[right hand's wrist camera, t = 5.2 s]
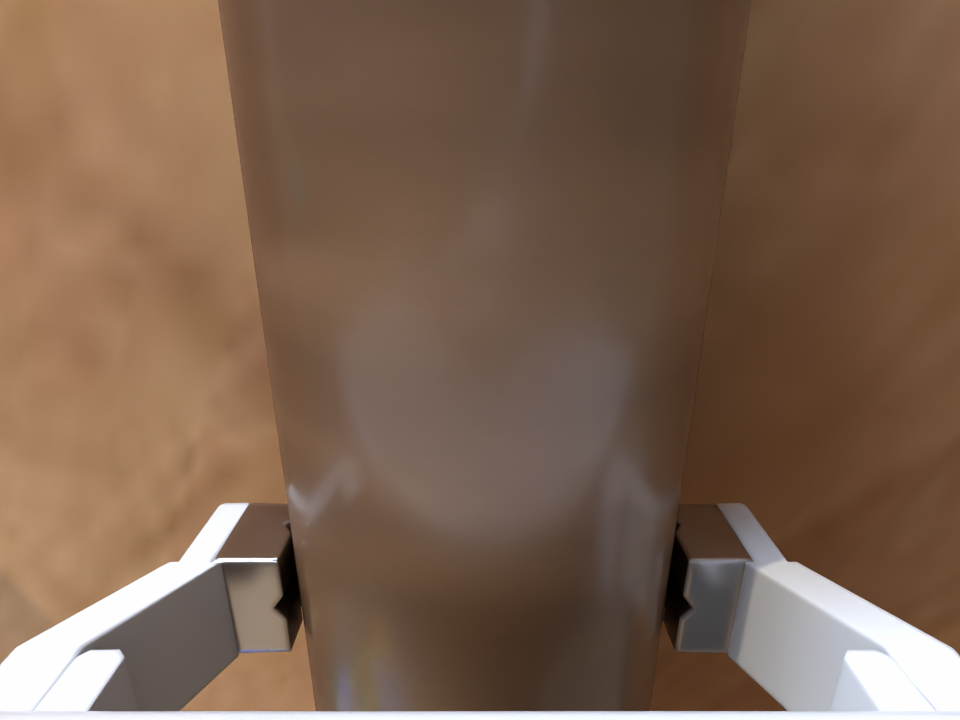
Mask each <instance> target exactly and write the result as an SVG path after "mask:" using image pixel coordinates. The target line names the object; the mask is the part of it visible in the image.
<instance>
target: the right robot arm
mask: <svg viewBox="0 0 960 720" xmlns="http://www.w3.org/2000/svg"><path fill="white" fill-rule="evenodd" d="M301 606H302V605H301V597H300V590H299V583H298V576H297V568H296V561H295V554H294V547H293V539H292V532H291V525H290V518H289V510H288V504H273V503H253V504H251V503H225V504H222V505H220V506H219V507H218V508H217V509H216V511H215V512H214V513H213V515H212V516H211V518H210V519H209V520H208V522H207V523H206V525H205V526H204V527H203V529H202V530H201V532H200V533H199V534H198V536H197V537H196V539H195V540H194V541H193V543H192V544H191V545H190V547H189V548H188V550H187V551H186V552H185V554H184V555H183V557H182V558H181V559H180V561H179V562H169V563H167V564H165V565H163V566H162V567H160V568H158V569H156V570H154V571H153V572H151V573H149V574H147V575H145V576H144V577H142V578H140V579H138V580H136V581H135V582H133V583H131V584H129V585H127V586H126V587H124V588H122V589H120V590H118V591H117V592H115V593H113V594H111V595H109V596H108V597H106V598H104V599H102V600H100V601H99V602H97V603H95V604H93V605H91V606H90V607H88V608H86V609H84V610H82V611H81V612H79V613H77V614H75V615H73V616H72V617H70V618H68V619H66V620H64V621H63V622H61V623H59V624H57V625H55V626H54V627H52V628H50V629H48V630H46V631H45V632H43V633H41V634H39V635H37V636H36V637H34V638H32V639H30V640H28V641H27V642H25V643H23V644H21V645H19V646H18V647H16V648H15V649H14V650H13V652H12V653H11V654H10V655H9V656H8V657H7V658H6V659H5V660H4V661H3V662H2V664H1V665H0V720H960V655H959V654H958V653H957V652H956V651H955V650H954V649H953V648H952V647H950V646H948V645H946V644H944V643H943V642H941V641H939V640H937V639H935V638H934V637H932V636H930V635H928V634H926V633H925V632H923V631H921V630H919V629H917V628H915V627H914V626H912V625H910V624H908V623H906V622H905V621H903V620H901V619H899V618H897V617H896V616H894V615H892V614H890V613H888V612H886V611H885V610H883V609H881V608H879V607H877V606H876V605H874V604H872V603H870V602H868V601H867V600H865V599H863V598H861V597H859V596H857V595H856V594H854V593H852V592H850V591H848V590H847V589H845V588H843V587H841V586H839V585H838V584H836V583H834V582H832V581H830V580H828V579H827V578H825V577H823V576H821V575H819V574H818V573H816V572H814V571H812V570H810V569H809V568H807V567H805V566H803V565H801V564H799V563H798V562H787V560H786V559H785V557H784V556H783V555H782V553H781V552H780V551H779V549H778V548H777V547H776V545H775V544H774V543H773V541H772V540H771V539H770V537H769V536H768V534H767V533H766V532H765V530H764V529H763V528H762V526H761V525H760V524H759V522H758V521H757V520H756V518H755V517H754V516H753V514H752V513H751V512H750V510H749V509H748V507H747V506H746V505H744V504H742V503H713V504H687V505H679V509H678V516H677V523H676V530H675V537H674V544H673V551H672V557H671V564H670V571H669V578H668V585H667V592H666V599H665V606H664V607H665V609H664V617H663V621H664V623H665V626H666V628H667V631H668V634H669V636H670V639H671V641H672V644H673V646H674V649H675V651H682V652H717V653H728V654H727V655H728V656H729V657H730V658H731V659H732V660H733V661H734V662H735V663H736V664H737V665H738V666H739V667H741V668H742V669H743V670H744V671H745V672H746V673H747V674H748V675H749V676H750V677H751V678H752V679H754V680H755V681H756V682H757V683H758V684H759V685H760V686H761V687H762V688H763V689H764V690H765V691H766V692H768V693H769V694H770V695H771V696H772V697H773V698H774V699H775V700H776V701H777V702H778V703H779V704H781V705H782V706H783V707H784V708H785V709H786V710H787V711H180V710H181V709H182V708H183V707H184V706H185V705H186V704H187V703H188V702H189V701H191V700H192V699H193V698H194V697H195V696H196V695H197V694H198V693H199V692H200V691H201V690H202V689H203V688H204V687H206V686H207V685H208V684H209V683H210V682H211V681H212V680H213V679H214V678H215V677H216V676H217V675H218V674H220V673H221V672H222V671H223V670H224V669H225V668H226V667H227V666H228V665H229V664H230V663H231V662H232V661H233V660H235V659H236V658H237V657H238V653H249V652H283V651H291V649H292V647H293V644H294V641H295V639H296V636H297V633H298V631H299V628H300V625H301V623H302V620H303V619H302V611H301Z"/></svg>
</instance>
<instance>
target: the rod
mask: <svg viewBox="0 0 960 720" xmlns="http://www.w3.org/2000/svg"><path fill="white" fill-rule="evenodd" d="M218 4H219V11H220V18H221V26H222V33H223V40H224V47H225V55H226V62H227V69H228V76H229V83H230V91H231V98H232V105H233V112H234V120H235V127H236V134H237V141H238V149H239V156H240V163H241V170H242V178H243V185H244V192H245V199H246V207H247V214H248V221H249V228H250V235H251V243H252V250H253V257H254V264H255V272H256V279H257V286H258V293H259V301H260V308H261V315H262V322H263V330H264V337H265V344H266V351H267V358H268V366H269V373H270V380H271V387H272V395H273V402H274V409H275V416H276V424H277V431H278V438H279V445H280V453H281V460H282V467H283V474H284V481H285V489H286V496H287V503H288V510H289V518H290V525H291V532H292V539H293V547H294V554H295V561H296V568H297V576H298V583H299V590H300V597H301V605H302V612H303V619H304V626H305V633H306V641H307V648H308V655H309V662H310V670H311V677H312V684H313V691H314V699H315V706H316V711H650V704H651V697H652V690H653V683H654V676H655V669H656V662H657V655H658V648H659V641H660V634H661V627H662V620H663V613H664V606H665V599H666V592H667V585H668V578H669V571H670V564H671V557H672V551H673V544H674V537H675V530H676V523H677V516H678V509H679V502H680V495H681V488H682V481H683V474H684V467H685V460H686V453H687V446H688V439H689V432H690V425H691V418H692V411H693V404H694V397H695V390H696V383H697V376H698V369H699V362H700V355H701V348H702V341H703V334H704V327H705V320H706V313H707V306H708V299H709V292H710V285H711V278H712V271H713V264H714V257H715V250H716V243H717V236H718V229H719V222H720V215H721V208H722V201H723V194H724V187H725V180H726V173H727V166H728V159H729V152H730V145H731V139H732V132H733V125H734V118H735V111H736V104H737V97H738V90H739V83H740V76H741V69H742V62H743V55H744V48H745V41H746V34H747V27H748V20H749V13H750V6H751V0H218Z"/></svg>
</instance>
